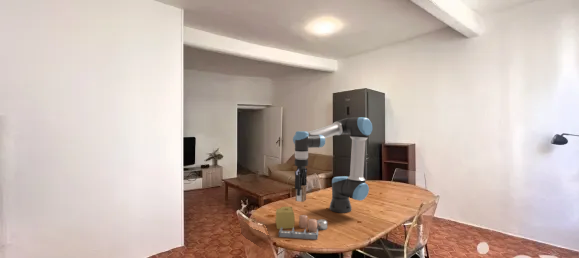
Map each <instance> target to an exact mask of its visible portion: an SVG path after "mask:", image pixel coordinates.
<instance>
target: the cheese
mask: <svg viewBox="0 0 579 258" xmlns="http://www.w3.org/2000/svg"><path fill="white" fill-rule="evenodd" d="M275 224H276V229H277V230H280V229H281V227H283V230H284V229H285V230H286V229H293V228H294V229H295V224H296V223H295V212H294V210H293V207H292V206H281V207H280V208H276V211H275Z"/></svg>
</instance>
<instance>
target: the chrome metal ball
mask: <svg viewBox="0 0 579 258" xmlns="http://www.w3.org/2000/svg"><path fill="white" fill-rule="evenodd" d="M316 220H317V219H316ZM317 229H318V231H326V230H328V220H326V219H324V218H323V219H321V218H320V219H318V220H317Z"/></svg>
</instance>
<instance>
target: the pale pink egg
mask: <svg viewBox="0 0 579 258" xmlns="http://www.w3.org/2000/svg"><path fill="white" fill-rule="evenodd" d="M307 232H312V233H316V232H317V219H316V218H309V219H308V227H307Z"/></svg>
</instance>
